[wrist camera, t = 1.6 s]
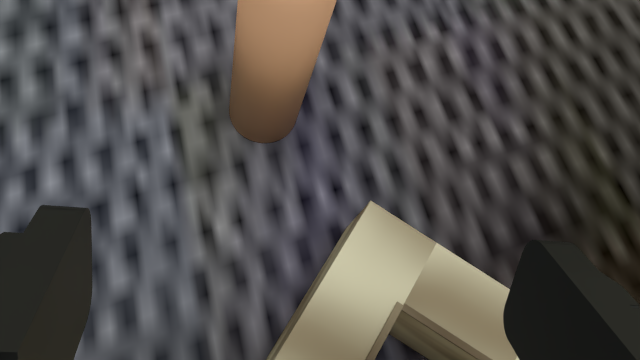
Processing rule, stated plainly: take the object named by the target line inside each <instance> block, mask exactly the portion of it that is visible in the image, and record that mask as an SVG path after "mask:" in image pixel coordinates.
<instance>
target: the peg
mask: <svg viewBox="0 0 640 360" xmlns="http://www.w3.org/2000/svg"><path fill="white" fill-rule="evenodd" d="M335 3H336V0H238V6H237V18H236V31H235V44H234V56H233V69H232V81H231V94H230V106H229V114H230V119H231V122H232V124H233V126H234V127H235V129H236V130H237V131H238V132H239V133H240V134H241V135H242V136H244V137H245V138H247V139H249V140H251V141H254V142H258V143H271V142H275V141H278V140H280V139H282V138H284V137H285V136H286V135H288V134H289V133H290V131H291V130H292V129H293V127H294V125H295V122H296V119H297V116H298V113H299V110H300V107H301V104H302V101H303V98H304V96H305V93H306V90H307V87H308V84H309V81H310V78H311V75H312V72H313V69H314V66H315V63H316V60H317V57H318V54H319V51H320V48H321V45H322V42H323V39H324V36H325V33H326V30H327V27H328V24H329V21H330V18H331V15H332V12H333V9H334V6H335Z"/></svg>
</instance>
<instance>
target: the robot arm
mask: <svg viewBox="0 0 640 360" xmlns="http://www.w3.org/2000/svg"><path fill="white" fill-rule="evenodd" d="M91 297H92V240H91V215H90V211H89V209H88V208H78V207H64V206H50V205H41V206H40V207H39V209H38V210H37V212H36V213H35V215H34V217H33V218H32V220H31V222H30V223H29V225H28V226H27V228H26V230H25V231H24V233H11V232H3V233H2V234H0V360H73V359H74V356H75V353H76V351H77V348H78V345H79V342H80V339H81V336H82V333H83V331H84V328H85V325H86V322H87V319H88V315H89V310H90V305H91ZM503 324H504V330H505V334H506V337H507V339H508V341H509V342H510V344H511V346H512V348H513V349H514V351H515V353H516V355H517V356H518V358H519V360H640V308H639V304H638V303H637V302H636V301H635V300H634V299H633V298H632V297H631V295H630V294H629V293H628V292H627V291H626V290H625V289H624V288H623V287H622V286H621V285H619V284H618V283H616V282H615V281H613V280H612V279H610V278H609V277H607V276H606V275H604V274H603V273H601V272H600V271H599V270H598V269H597V268H596V267H595V266H594V265H593V264H592V263H591V262H590V261H589V260H588V258H587V257H586V256H585V255H584V254H583V253H582V252H581V251H580V250H579V249H578V247H577V246H576V245H574V244H573V243H570V242H557V241H542V240H532V241H530V242H529V243H528V244H527V245H526V246H525V248H524V250H523V253H522V256H521V259H520V262H519V265H518V268H517V271H516V274H515V277H514V279H513V282H512V285H511V288H510V291H509V294H508V297H507V300H506V303H505V307H504V312H503Z"/></svg>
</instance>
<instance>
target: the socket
mask: <svg viewBox="0 0 640 360" xmlns="http://www.w3.org/2000/svg"><path fill="white" fill-rule="evenodd" d="M509 291H510V289H508V288H506V287H505V286H503V285H502V284H500V283H499V282H497V281H496V280H494V279H492V278H491V277H489V276H488V275H486V274H485V273H483V272H481V271H480V270H478V269H477V268H475V267H474V266H472V265H470V264H469V263H467V262H466V261H464V260H463V259H461V258H460V257H458V256H456V255H455V254H453V253H452V252H450V251H449V250H447V249H445V248H444V247H442V246H441V245H439V244H438V243H436V242H435V241H433V240H431V239H430V238H428V237H427V236H425V235H424V234H422V233H420V232H419V231H417V230H416V229H414V228H413V227H411V226H409V225H408V224H406V223H405V222H403V221H402V220H400V219H399V218H397V217H395V216H394V215H392V214H391V213H389V212H388V211H386V210H384V209H383V208H381V207H380V206H378V205H377V204H375V203H373V202H372V201H370V202H369V203H368V204H367V205H366V207H365V208H364V209H363V210H362V211H361V212H360V213H359V214H358V216H357V217H356V218H355V219H354V220H353V221H352V222H351V223H350V225H349V226H348V227H347V228H346V229H345V231H344V233H343V234H342V236H341V238H340V239H339V241H338V242H337V244H336V246H335V247H334V249H333V251H332V252H331V254H330V256H329V257H328V259H327V260H326V262H325V264H324V265H323V267H322V269H321V270H320V272H319V274H318V275H317V277H316V278H315V280H314V282H313V283H312V285H311V287H310V288H309V290H308V292H307V293H306V295H305V296H304V298H303V300H302V301H301V303H300V305H299V306H298V308H297V310H296V311H295V313H294V314H293V316H292V318H291V319H290V321H289V323H288V324H287V326H286V328H285V329H284V331H283V332H282V334H281V336H280V337H279V339H278V341H277V342H276V344H275V346H274V347H273V349H272V350H271V352H270V354H269V355H268V357H267V359H266V360H375V358H376V356H377V354H378V352H379V351H380V349H381V347H382V345H383V343H384V341H385V339H386V338H387V336H388V334H390V335H392V336H393V337H395V338H396V339H398V340H399V341H401V342H403V343H404V344H406V345H407V346H409V347H410V348H412V349H413V350H415V351H417V352H418V353H420V354H421V355H423V356H424V357H426V358H427V359H429V360H519V358H518V356H517V355H516V353H515V351H514V349H513V348H512V346H511V344H510V342H509V341H508V339H507V337H506V334H505V330H504V324H503V312H504V307H505V303H506V300H507V297H508V294H509Z"/></svg>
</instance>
